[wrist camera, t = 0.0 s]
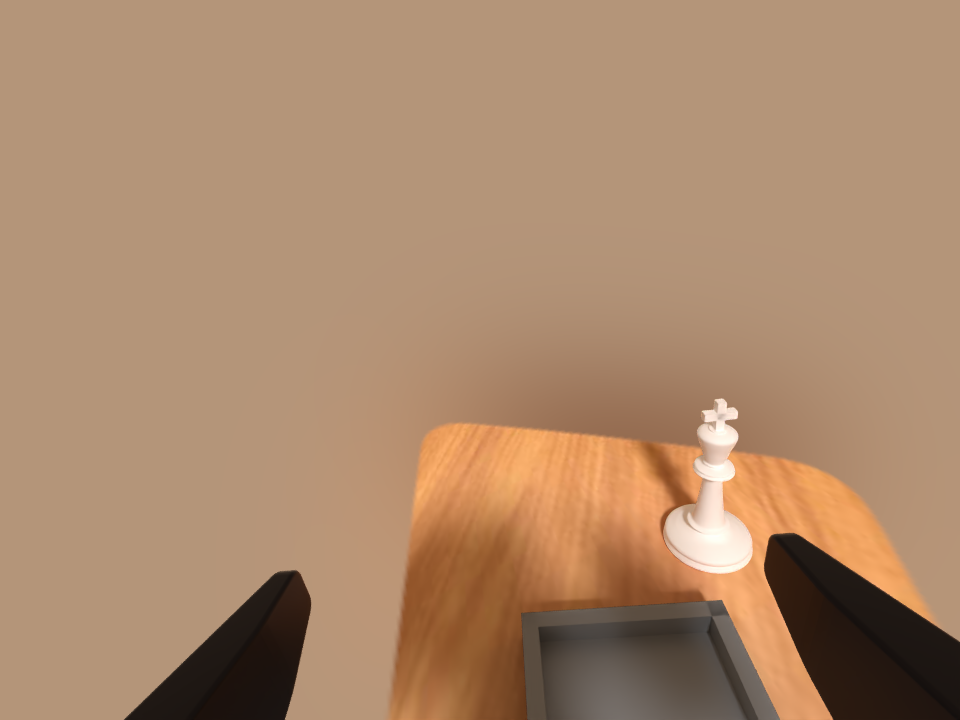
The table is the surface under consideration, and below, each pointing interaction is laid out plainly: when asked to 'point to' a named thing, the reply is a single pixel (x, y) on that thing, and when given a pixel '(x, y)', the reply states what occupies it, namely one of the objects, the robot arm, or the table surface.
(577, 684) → the tray
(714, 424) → the chess piece
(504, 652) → the table surface
